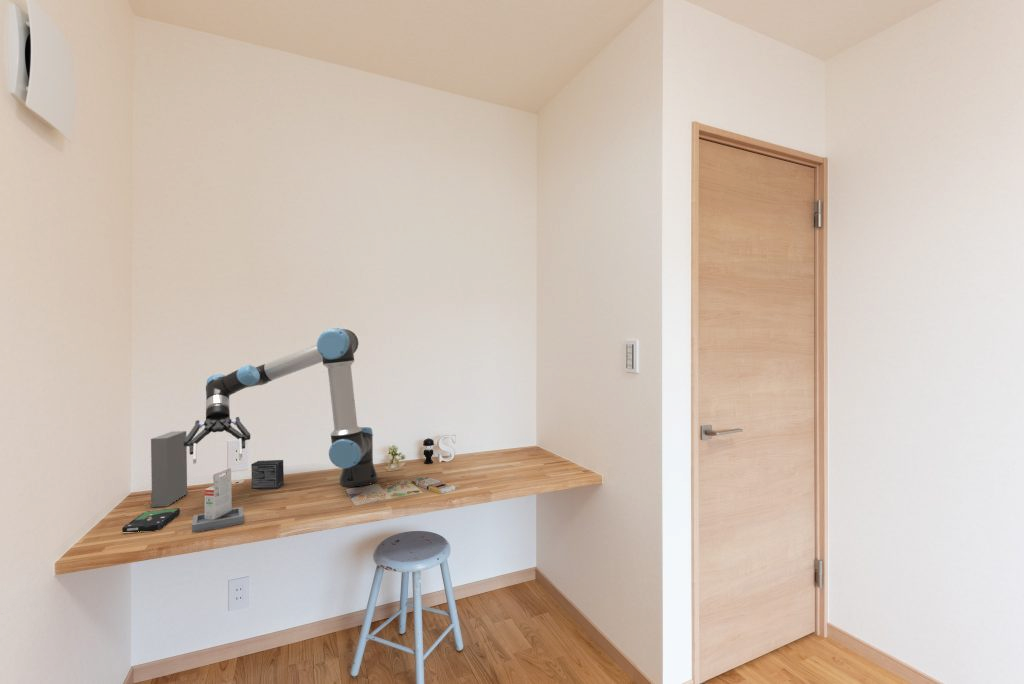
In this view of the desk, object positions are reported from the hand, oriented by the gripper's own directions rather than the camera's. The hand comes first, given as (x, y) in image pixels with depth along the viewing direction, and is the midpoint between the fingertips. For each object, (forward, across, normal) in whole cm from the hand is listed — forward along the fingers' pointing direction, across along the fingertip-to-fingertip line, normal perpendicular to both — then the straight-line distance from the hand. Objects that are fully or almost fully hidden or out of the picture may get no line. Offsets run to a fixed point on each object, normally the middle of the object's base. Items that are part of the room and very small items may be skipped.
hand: (218, 458), depth 162 cm
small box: (-3, -17, -30) cm, 35 cm away
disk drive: (+13, +19, -15) cm, 27 cm away
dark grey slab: (-4, +16, -32) cm, 36 cm away
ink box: (+19, 0, -4) cm, 20 cm away
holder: (+21, 0, -6) cm, 22 cm away
